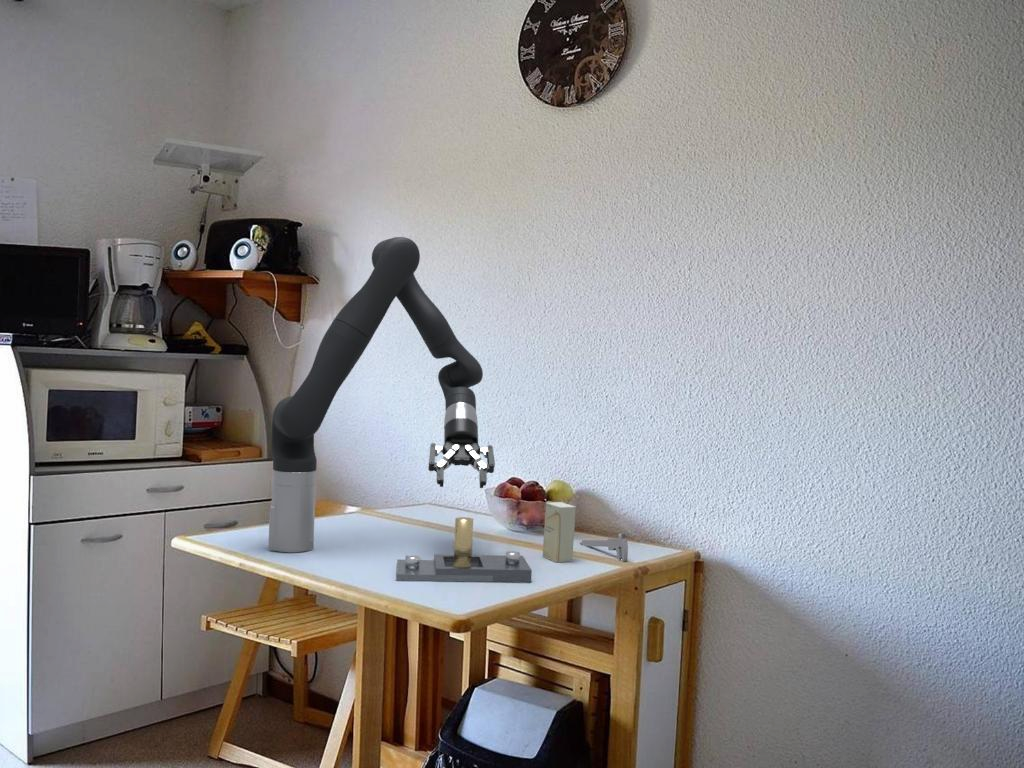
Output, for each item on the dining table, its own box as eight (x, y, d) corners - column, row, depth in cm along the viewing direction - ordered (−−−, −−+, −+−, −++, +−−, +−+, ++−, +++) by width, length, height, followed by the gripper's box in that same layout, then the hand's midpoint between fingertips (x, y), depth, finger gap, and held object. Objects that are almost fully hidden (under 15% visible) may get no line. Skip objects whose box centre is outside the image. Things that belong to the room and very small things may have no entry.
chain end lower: (396, 580, 170) (397, 563, 170) (397, 565, 183) (397, 549, 183) (492, 581, 172) (493, 565, 172) (486, 566, 185) (487, 551, 185)
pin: (453, 575, 176) (455, 520, 176) (452, 571, 179) (454, 517, 179) (471, 575, 176) (473, 520, 176) (470, 571, 180) (472, 517, 180)
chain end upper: (435, 581, 171) (436, 558, 171) (433, 565, 184) (434, 544, 183) (531, 582, 173) (532, 559, 173) (522, 567, 186) (523, 546, 186)
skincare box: (541, 556, 197) (544, 502, 197) (559, 555, 199) (561, 501, 199) (556, 563, 191) (559, 506, 191) (574, 561, 194) (576, 506, 193)
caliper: (627, 562, 196) (629, 534, 196) (623, 563, 195) (624, 534, 195) (583, 544, 214) (584, 518, 214) (579, 544, 214) (580, 518, 214)
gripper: (430, 415, 196) (429, 473, 185) (494, 417, 198) (497, 475, 187) (428, 437, 202) (427, 495, 191) (490, 439, 203) (493, 496, 192)
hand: (461, 485), depth 189 cm, fingers open, 8 cm apart
